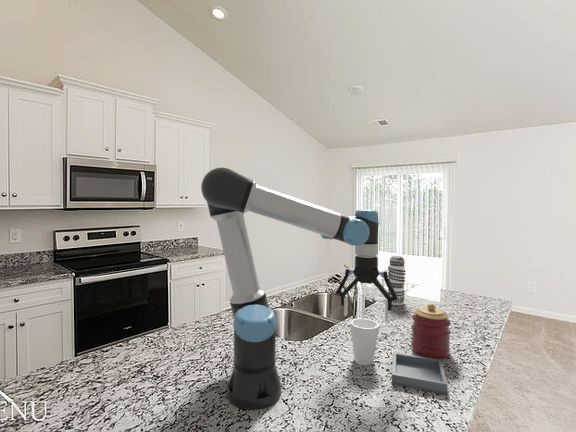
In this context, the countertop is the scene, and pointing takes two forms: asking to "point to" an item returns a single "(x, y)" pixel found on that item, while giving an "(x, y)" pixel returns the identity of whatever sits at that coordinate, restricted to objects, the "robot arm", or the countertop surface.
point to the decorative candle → (397, 278)
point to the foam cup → (364, 340)
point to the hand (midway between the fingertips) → (365, 317)
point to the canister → (431, 332)
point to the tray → (419, 373)
